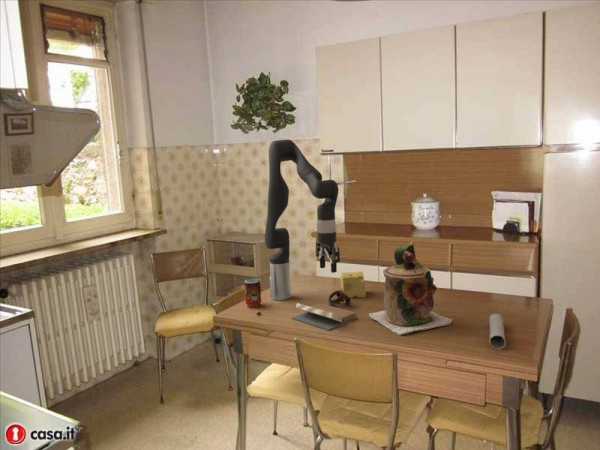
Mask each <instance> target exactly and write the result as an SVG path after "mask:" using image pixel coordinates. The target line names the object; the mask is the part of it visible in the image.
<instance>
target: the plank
mask: <svg viewBox="0 0 600 450" xmlns="http://www.w3.org/2000/svg"><path fill="white" fill-rule="evenodd" d="M295 309H298V310H301V311H303V312H304V313H305V312H309V313H312V314H315V315H319V316H322V317H325V318H329V319H332V320H336V321H339V322H342V320H343V317H341V316H339V315H336V314H334V313H331V312H327V311H324V310H320V309H317V308H313V307H311V306H308V305H306V304H302V303H298V302H297V303H296V306H295Z"/></svg>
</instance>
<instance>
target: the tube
mask: <svg viewBox="0 0 600 450" xmlns="http://www.w3.org/2000/svg"><path fill="white" fill-rule="evenodd" d="M504 329H505V328H504V319H503V316H502V315H501V314H500V313H492V314H491V315H489V343H488V344H489V345H490V347H491V348H492V349H493V350H494V349H495V350H502V349H504V348H506V346H507V345H506V338H505V330H504Z"/></svg>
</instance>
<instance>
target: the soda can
mask: <svg viewBox="0 0 600 450" xmlns="http://www.w3.org/2000/svg"><path fill="white" fill-rule="evenodd" d="M261 293H262V292H261V279H259V278H255V277H251V278H247V279H245V281H244V295H245V296H244V299H245V304H246V305H247V308H251V309H252V308H253V309H254V308H259V307H260V306H261V303H262V295H261Z"/></svg>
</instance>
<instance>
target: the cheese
mask: <svg viewBox="0 0 600 450" xmlns="http://www.w3.org/2000/svg"><path fill="white" fill-rule="evenodd" d="M340 274H341V275H340V290H342V291H343V292H344V293H346V294H347V295H348V296H349V298H350V299H352V298H366V288H365V287H366V283H365V277H364V272H363V271H354V272H353V271H351V272H341V273H340Z"/></svg>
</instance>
